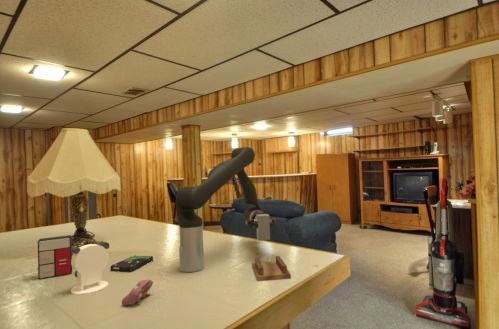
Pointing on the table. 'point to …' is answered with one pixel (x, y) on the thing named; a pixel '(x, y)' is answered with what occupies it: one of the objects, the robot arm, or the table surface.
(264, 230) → the block
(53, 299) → the table surface
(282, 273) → the walnut stand
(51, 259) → the grey and red box
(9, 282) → the table surface
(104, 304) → the table surface
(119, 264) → the disk drive
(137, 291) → the pink lumpy piece
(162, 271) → the table surface
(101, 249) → the white rounded upright piece
